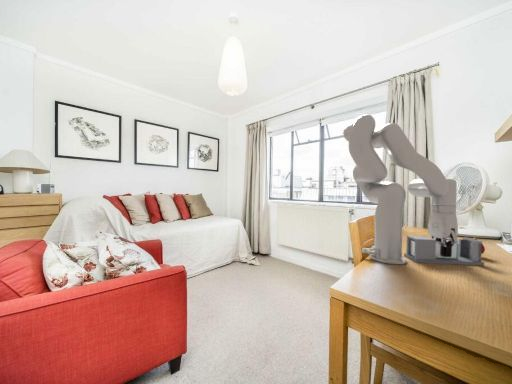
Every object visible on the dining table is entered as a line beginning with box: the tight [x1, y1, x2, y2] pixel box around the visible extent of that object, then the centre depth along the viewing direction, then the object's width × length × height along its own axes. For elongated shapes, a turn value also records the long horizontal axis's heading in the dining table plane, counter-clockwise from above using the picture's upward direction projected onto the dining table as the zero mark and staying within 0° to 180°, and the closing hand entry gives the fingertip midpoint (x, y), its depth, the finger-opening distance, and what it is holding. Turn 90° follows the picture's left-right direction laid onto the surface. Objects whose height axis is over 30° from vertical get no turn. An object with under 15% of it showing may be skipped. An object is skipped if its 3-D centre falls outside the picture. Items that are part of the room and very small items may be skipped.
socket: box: [458, 236, 483, 262], centre depth 85 cm, size 3×7×8 cm, turn 173°
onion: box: [472, 237, 486, 255], centre depth 92 cm, size 6×6×8 cm
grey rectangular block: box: [410, 240, 459, 259], centre depth 86 cm, size 16×4×6 cm, turn 83°
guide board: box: [403, 235, 485, 266], centre depth 86 cm, size 24×8×9 cm, turn 83°
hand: (442, 254), depth 86 cm, fingers closed on grey rectangular block, 3 cm apart
